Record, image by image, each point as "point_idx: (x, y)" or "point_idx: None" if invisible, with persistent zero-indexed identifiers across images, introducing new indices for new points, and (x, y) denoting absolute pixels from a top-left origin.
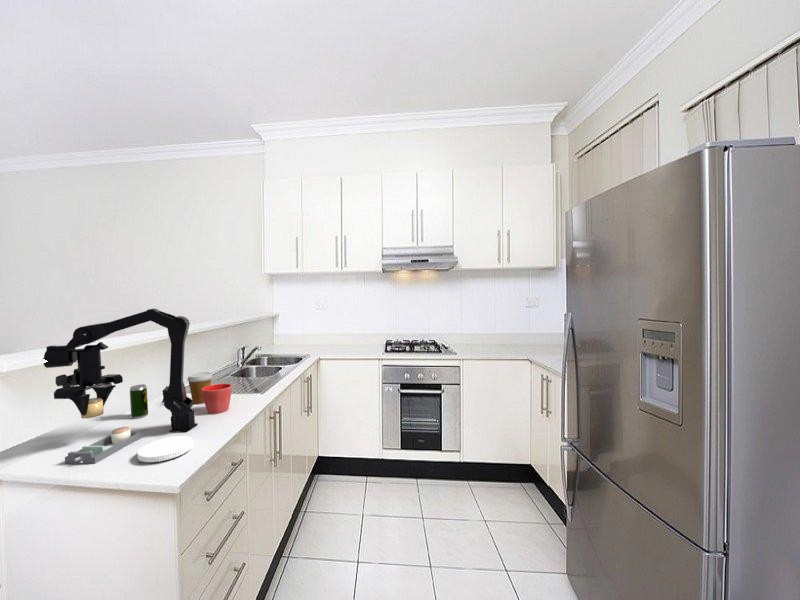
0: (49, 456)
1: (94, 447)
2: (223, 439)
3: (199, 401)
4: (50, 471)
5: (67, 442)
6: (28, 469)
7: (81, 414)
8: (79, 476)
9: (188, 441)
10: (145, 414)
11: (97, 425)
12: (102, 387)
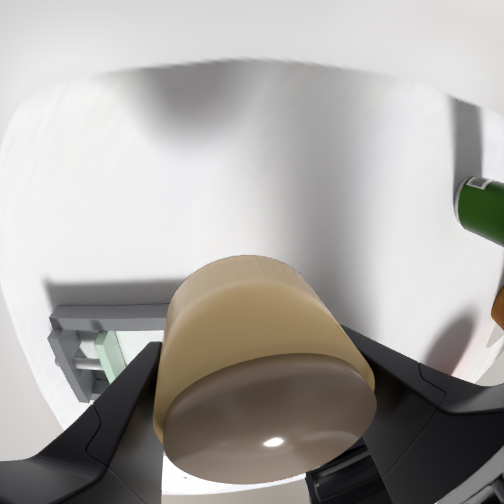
0: (82, 174)
1: (109, 382)
2: (253, 487)
3: (495, 315)
4: (22, 306)
5: (227, 96)
6: (7, 217)
7: (145, 348)
8: (47, 392)
9: (212, 488)
10: (468, 230)
11: (410, 85)
12: (454, 489)
